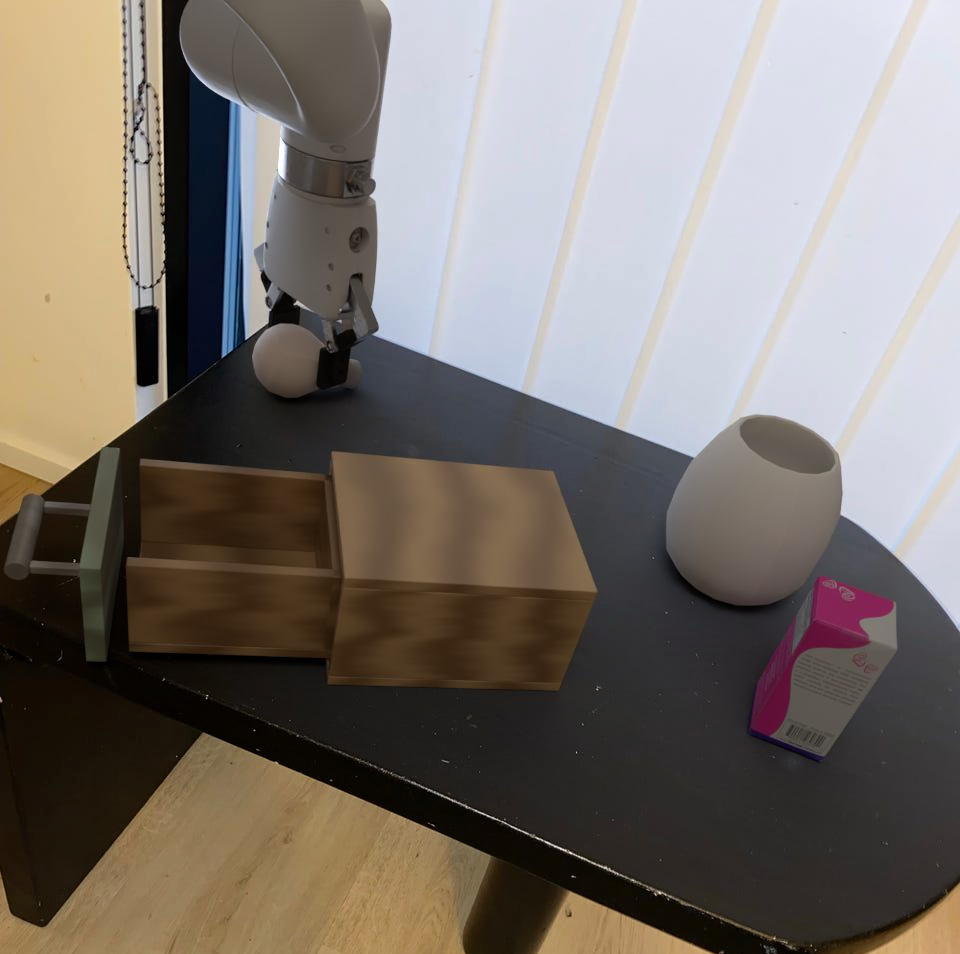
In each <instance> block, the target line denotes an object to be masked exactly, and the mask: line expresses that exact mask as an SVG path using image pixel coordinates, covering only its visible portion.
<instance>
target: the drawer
mask: <svg viewBox="0 0 960 954" xmlns="http://www.w3.org/2000/svg"><path fill="white" fill-rule="evenodd" d="M138 465H139V502H140V503H139V504H140V505H139V506H140V507H139V508H140V540H141V541H140V547H139V556H138V557H130V556H129V557H126V563H125V579H126V580H125V583H126V604H127V605H126V606H127V607H126V608H127V609H126V610H127V628H128V629H127V633H128V636H127V637H128V652H137V653H160V654H161V653H163V654H188V655H189V654H190V655H191V654H192V655H193V654H194V655H221V656H248V657H249V656H250V657H278V658H279V657H281V658H308V659H312V658H313V659H325V658H330V653H331V647H332V641H333V634H334V628H335V622H336V615H337V609H338V603H339V597H340V590H341V584H342V571H341V561H340V551H339V540H338V530H337V520H336V510H335V499H334V489H333V479H332V475H329V474H327V473H326V474H324V473H314V472H302V471H292V470H291V471H289V470H279V469H267V468H254V467H245V466H231V465H220V464H207V463H196V462H183V461H171V460H161V459H148V458H140V460H139V464H138ZM122 477H123V475H122V453H121V448H119V447H107V446H102V447H100V453H99V459H98V464H97V468H96V474H95V480H94V486H93V490H92V494H91V495H92V496H91V501H90V504H88V503H87V504H86V503H74V502H62V501H61V502H59V501H45V499H44V498H43V496H41V495H39V494H37V493H28V494H25V495H24V496H23V497H22V500H21V504H20V507H19V512H18V514H17V518H16V522H15V525H14V529H13V533H12V537H11V539H10V545H9V548H8V551H7V556H6V559H5V562H4V567H3V572H4V574H5V575H6V576H7V577H8V578H10V579H12V580H15V581H21V580H25V579H27V578H28V576H29V575H30V574H32V575H33V574H34V575H48V576H49V575H52V576H54V575H55V576H68V577H69V576H70V577H79V587H80V599H81V613H82V625H83V636H84V637H83V639H84V647H85V648H84V649H85V660H86V662H100V663H105V662H107V660H108V653H109V645H110V640H111V639H110V638H111V633H112V625H113V617H114V612H115V611H114V610H115V604H116V597H117V589H118V583H119V575H120V568H121V563H122V554H123V548H124V542H125V531H124V529H125V528H124V505H123V481H122V480H123V479H122ZM44 514H49V515H64V516H75V517H76V516H78V517H88V518H87V523H86V527H85V533H84V538H83V543H82V549H81V554H80V560H79V562H60V561H44V560H43V561H42V560H33V559H34V555H35V550H36V546H37V542H38V537H39V533H40V530H41V525H42V521H43V518H44Z"/></svg>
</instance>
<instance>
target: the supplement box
mask: <svg viewBox="0 0 960 954" xmlns="http://www.w3.org/2000/svg"><path fill="white" fill-rule="evenodd" d="M897 634H898V633H897V602H896V601H893V600H892V599H891V600H890V599H888V598H885V597H882V596H880V595H877V594H875V593H871V592H869V591H866V590H863V589H860V588H857V587H855V586H852V585H849V584H847V583H844V582H841V581H838V580H835V579H833V578H830V577H827V576H825V575H822V574H820V575H818V577H816V579H815V581H814V583H813V585H812V587H811V588H810V590H809V592H808V593H807V594H806V597H805V598H804V601H803V602H802V604H801V606H800V607H799V608H798V611H797V613H796V614H795V616H794V618H793V619H792V621H791V623H790V625H789V626H788V628H787V630H786V632H785V634H784V636H783V637H782V639H781V641H780V643H779V644H778V646H777V648H776V649H775V650H774V653H773V654H772V657H771V658H770V660H769V662H768V663H767V665H766V667H765V669H764V671H763V672H762V674H761V676H760V677H759V679H758V681H757V683H756V684H755V688H754V689H755V690H754V695H753V700H752V706H751V712H750V717H749V724H748V731H747V732H748V733H747V734H748V735H751V736H753V737H756V738H758V739H761V740H763V741H766V742H768V743H771V744H774V745H776V746H779V747H781V748H784V749H786V750H789V751H792V752H793V753H797V754H799V755H802V756H804V757H807V758H809V759H812V760H814V761H817V762H820V763H822V761H823V760H824V758H825V757H826V756H827V755H828V753H829V752H830V750H831V749H832V747H833V745H834V744H835V743H836V741H837V739H838V738H839V737H840V736H841V734H842V732H843V731H844V730H845V728H846V727H847V725H848V724H849V722H850V721H851V719H852V718H853V716H854V715H855V714H856V712H857V710H858V709H859V707H860V706H861V704H862V703H863V701H864V700H865V698H867V696H868V694H869V693H870V691H871V690H872V689H873V686H874V685H875V684H876V682H877V681H878V680H879V678H880V677H881V675H882V674H883V672H884V670H885V669H886V667H887V666H889V665H888V664H890V662H891V661H892V659H893V657H894V656H895V654H896V653H897V651H898V637H897Z"/></svg>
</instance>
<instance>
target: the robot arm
mask: <svg viewBox="0 0 960 954" xmlns="http://www.w3.org/2000/svg"><path fill="white" fill-rule="evenodd" d="M392 29H393V23H392V17H391V13H390V10H389V9H388V7H387V6H386V4H385V3H384V2H383V1H382V0H188V2H187V3H186V5H185V7H184V9H183V11H182V15H181V17H180V22H179V43H180V47H181V51H182V54H183V57H184V59H185V61H186V64H187V65H188V67H189V69H190V70H191V72H192V73H193V74H194V75H195V77H196V78H197V79H198V80H199V81H200V82H202V84H204V85H205V87H207V88H208V89H210V90H211V91H213V92H214V93H216V94H217V95H219V96H221V97H222V98H224V99H227V100H229V101H230V102H233V103H234V104H237V105H239V106H240V107H243V108H245V109H247V110H250V111H251V112H253V113H256V114H259V115H261V116H263V117H265V118H268V119H269V120H270V121H271V120H272V121H274V122H275V123H278V124H279V125H280V138H279V151H278V152H279V154H278V167H277V168H276V169H275V170H276V171H275V175H274V178H273V182H272V186H271V191H270V196H269V201H268V205H267V206H268V207H267V214H266V220H265V228H264V229H265V230H264V238H263V239H264V241H262V242H261V243H260V244H258V245H257V246H255V247H254V248H253V250H252V254H253V257H254V260H255V262H256V265H257V268H258V270H259V273H260V281H261V284H262V285H263V288H264V290H265V293H266V295H265V296H264V304H265V306H266V307H267V309H268V310H269V311H268V320H267V321H268V322H267V329H269V328H271V327H272V326H275V325H278V324H294V325H299V326H300V320H301V306H300V305H298V304H296V303H297V302H298V303H300V304H301V305H303V306H304V307H306V308H307V309H308V310H310V311H311V312H313V313H314V314H316V315H317V316H318V317H320V319H321V321H320V322H321V327H322V332H323V339H324V345H325V346H326V347H322V348H320V353H319V362H318V371H317V380H316V384H317V387H318V388H320V389H319V390H321V391H324V390H327V389H332V388H331V387H334V386H337V385H341V384H344V383H345V382H346V380H347V375H348V367H349V360H350V359H351V350H352V348H355V347H357V346H358V345H359V344H361V343H362V342H365V341H366V339H367V338H369V337H371V336H373V335H375V333H377V332H378V331H379V329H380V325H379V322H378V320H377V317H376V315H375V312H374V310H373V308H372V307H373V301H374V294H375V285H376V277H377V276H376V275H377V264H378V263H377V260H378V235H379V233H378V232H379V231H378V229H379V228H378V213H377V202H376V200H375V199H374V198H372V197H371V195H372V194H373V193H375V190H376V187H377V182H376V180H375V179H374V178H373V175H374V169H375V160H376V153H377V146H378V145H377V144H378V138H379V132H380V131H379V129H380V122H381V114H382V108H383V99H384V92H385V85H386V79H387V78H386V77H387V70H388V63H389V54H390V48H391V47H390V46H391V38H392ZM339 321H341V325H342V332H340V333H338V331H337V326H336V322H339Z"/></svg>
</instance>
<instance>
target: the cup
mask: <svg viewBox="0 0 960 954" xmlns="http://www.w3.org/2000/svg"><path fill="white" fill-rule="evenodd" d="M841 464H842V463H841V460H840V455H839V453H838V452H837V450H836V449H835V447H833V446H832V444H831V443H830V442H829V441H828V440H827V439H825V438H824V437H822V436H821V435H820V434H819V433H817V432H816V431H815V430H813V429H811V428H809V427H807V426H805V425H803V424H801V423H799V422H797V421H794V420H791V419H788V418H784V417H780V416H777V415H771V414H758V413H754V414H750V415H745V416H742V417H740V418H738V419H737V420H736V421H734V422H732V424H730V425H729V426H727V427H726V428H724V429H723V430H721V431H720V432H719V433H718V434H716V436H715V437H714V438H713V439H712V440H711V441H710V442H709V443H708V444H707V445H706V446H705V447H703V448H702V450H700V452H698V454H696V456H695V457H694V458H693V459H691V461H690V463H689V464H688V466H687V468H686V470H685V472H684V473H683V475H682V477H681V479H680V480H679V482H678V484H677V485H676V488H675V489H674V493H673V495H672V498H671V501H670V503H669V505H668V508H667V510H666V519H665V520H666V521H665V549H666V551H667V554H668V555H669V557H670V559H671V560H672V562H673V564H674V566H675V568H676V569H677V571H678V572H679V574H680V575H681V576H682V577H683V578H684V579H685V580H686V581H687V582H688V583H689V584H690V585H691V586H692V587H693V588H695V590H696V591H697V590H698V591H699V592H701V593H702V594H705V595H706V596H708V597H710V598H712V599H713V600H716V601H719V602H723V603H726V604H731V605H733V606H766V605H771V604H772V603H776V602H779V601H780V600H783V599H786V598H788V597H789V596H791V595H792V594H793V593H794V592H796V591H797V590H799V589H800V588H801V587H803V586H804V585H805V584H806V582H807V580H809V577H810V576H811V574H812V572H813V571H814V569H815V567H816V566H817V564H818V563H819V561H820V560H821V558H822V556H823V554H824V553H825V552H826V550H827V548H828V547H829V545H830V542H831V541H832V538H833V535H834V533H835V531H836V528H837V526H838V524H839V522H840V519H841V513H842V512H841V511H842V504H843V495H844V494H843V492H844V490H843V477H842V474H843V473H842V465H841Z"/></svg>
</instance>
